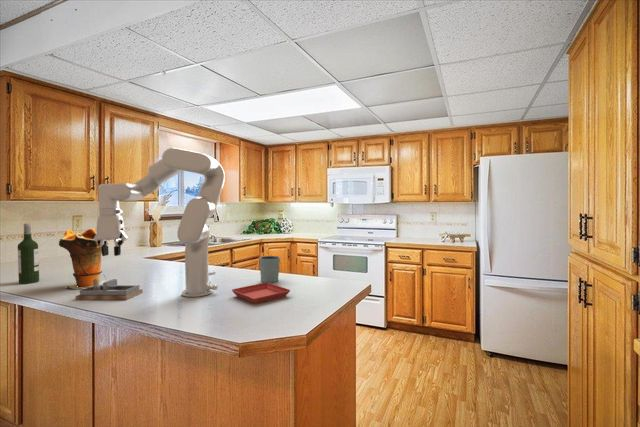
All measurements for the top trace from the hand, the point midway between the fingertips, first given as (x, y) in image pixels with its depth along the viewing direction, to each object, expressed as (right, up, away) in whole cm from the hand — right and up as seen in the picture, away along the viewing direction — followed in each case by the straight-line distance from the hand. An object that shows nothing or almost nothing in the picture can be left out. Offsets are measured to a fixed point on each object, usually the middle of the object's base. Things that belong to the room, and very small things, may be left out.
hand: (111, 255), depth 143 cm
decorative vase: (-24, -17, +20) cm, 36 cm away
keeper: (0, -18, 0) cm, 17 cm away
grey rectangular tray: (0, -16, 0) cm, 16 cm away
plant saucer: (+65, -18, -3) cm, 67 cm away
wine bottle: (-59, -17, +27) cm, 67 cm away
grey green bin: (+64, -16, +25) cm, 71 cm away
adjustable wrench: (+25, -17, +35) cm, 46 cm away
